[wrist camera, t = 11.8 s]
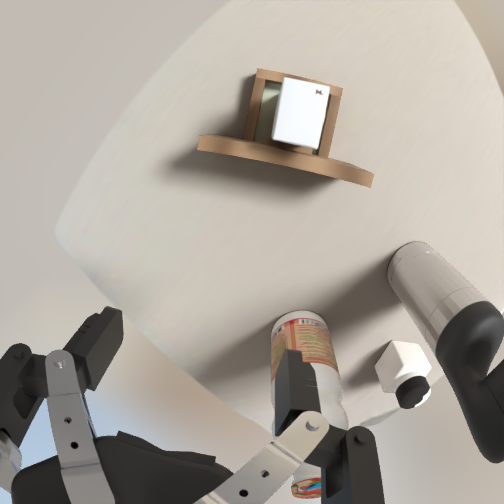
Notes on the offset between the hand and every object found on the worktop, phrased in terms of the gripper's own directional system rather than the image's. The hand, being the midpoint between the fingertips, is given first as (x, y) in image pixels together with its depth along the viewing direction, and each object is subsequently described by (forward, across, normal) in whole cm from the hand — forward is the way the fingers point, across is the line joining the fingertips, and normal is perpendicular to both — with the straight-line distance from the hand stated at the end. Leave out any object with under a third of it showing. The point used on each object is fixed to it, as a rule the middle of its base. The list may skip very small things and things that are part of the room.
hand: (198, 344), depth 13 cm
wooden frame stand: (+27, -4, -12) cm, 30 cm away
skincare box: (+27, -4, -12) cm, 30 cm away
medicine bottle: (+28, -34, +22) cm, 49 cm away
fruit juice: (+28, -13, +19) cm, 36 cm away
